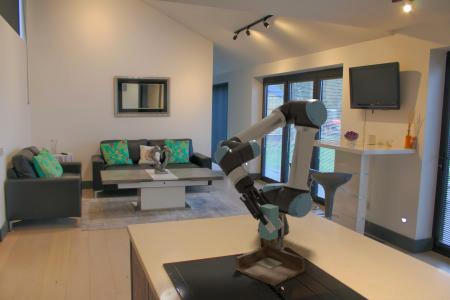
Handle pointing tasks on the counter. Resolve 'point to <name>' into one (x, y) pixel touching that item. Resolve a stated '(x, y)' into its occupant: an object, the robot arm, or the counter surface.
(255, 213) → the robot arm
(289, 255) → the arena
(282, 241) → the coffee box
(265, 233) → the teal block
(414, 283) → the counter surface
